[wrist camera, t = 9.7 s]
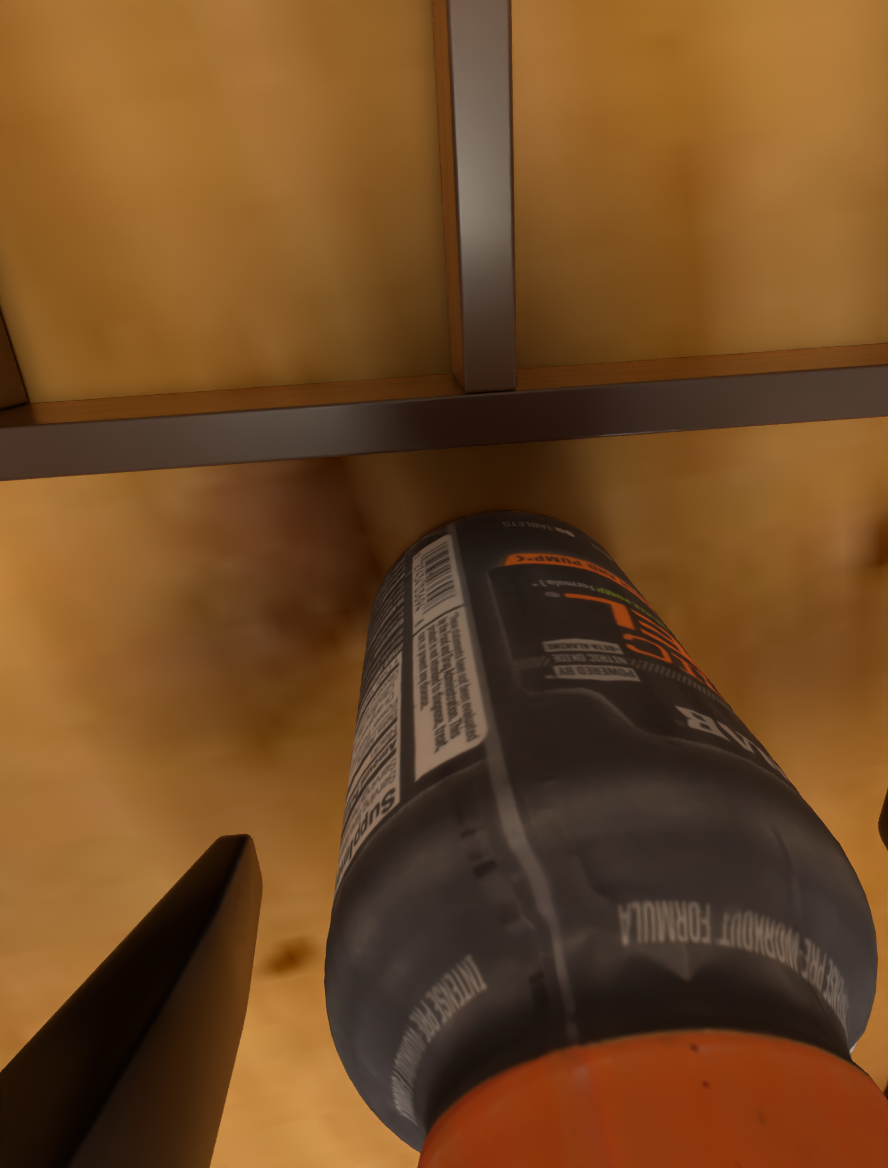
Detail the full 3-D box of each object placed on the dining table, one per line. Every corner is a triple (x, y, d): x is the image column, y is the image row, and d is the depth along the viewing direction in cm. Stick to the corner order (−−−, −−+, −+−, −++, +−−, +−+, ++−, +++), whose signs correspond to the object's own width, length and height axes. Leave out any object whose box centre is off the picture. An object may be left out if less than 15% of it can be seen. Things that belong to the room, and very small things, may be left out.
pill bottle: (680, 615, 15) (1336, 1369, 4) (503, 774, 16) (668, 1599, 6) (493, 444, 13) (844, 1038, 2) (313, 642, 14) (75, 1503, 4)
